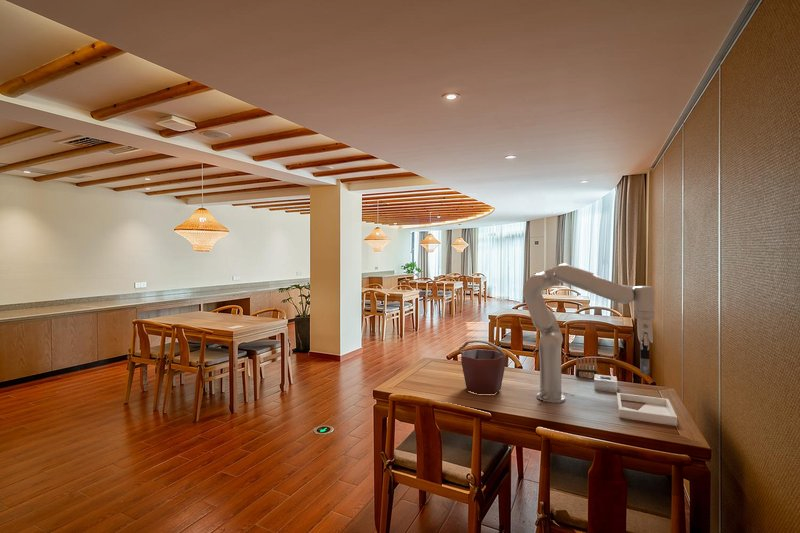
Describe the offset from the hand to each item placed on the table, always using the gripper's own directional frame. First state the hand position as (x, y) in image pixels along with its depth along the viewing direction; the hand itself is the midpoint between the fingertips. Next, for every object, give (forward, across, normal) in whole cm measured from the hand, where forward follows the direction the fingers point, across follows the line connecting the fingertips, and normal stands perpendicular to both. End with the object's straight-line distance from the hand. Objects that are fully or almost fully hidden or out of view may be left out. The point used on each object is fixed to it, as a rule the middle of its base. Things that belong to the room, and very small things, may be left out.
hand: (644, 357), depth 169 cm
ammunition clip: (+24, +40, +24) cm, 53 cm away
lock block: (+24, +24, +15) cm, 37 cm away
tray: (+24, 0, 0) cm, 24 cm away
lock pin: (+7, 0, 0) cm, 7 cm away
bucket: (+24, 0, +70) cm, 74 cm away
